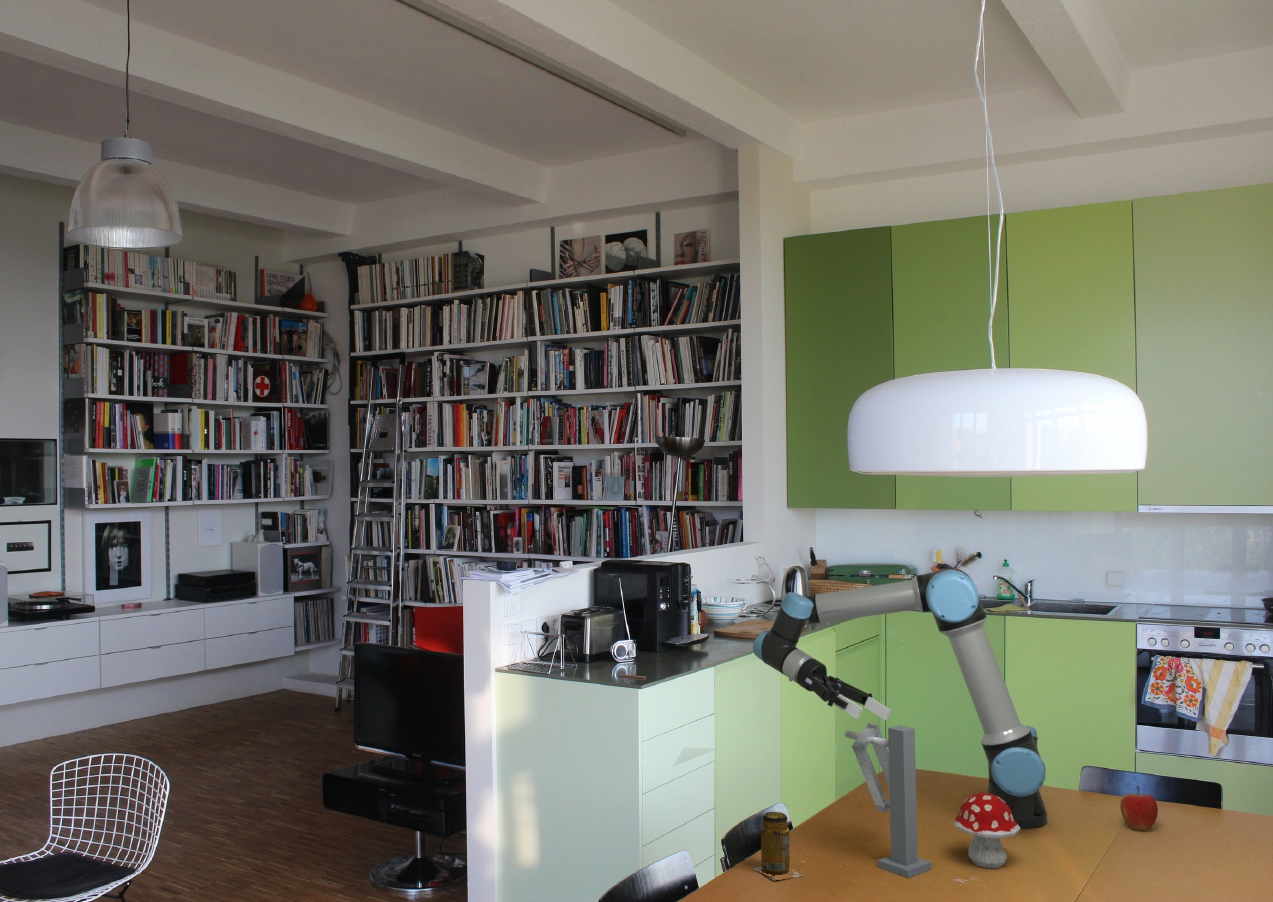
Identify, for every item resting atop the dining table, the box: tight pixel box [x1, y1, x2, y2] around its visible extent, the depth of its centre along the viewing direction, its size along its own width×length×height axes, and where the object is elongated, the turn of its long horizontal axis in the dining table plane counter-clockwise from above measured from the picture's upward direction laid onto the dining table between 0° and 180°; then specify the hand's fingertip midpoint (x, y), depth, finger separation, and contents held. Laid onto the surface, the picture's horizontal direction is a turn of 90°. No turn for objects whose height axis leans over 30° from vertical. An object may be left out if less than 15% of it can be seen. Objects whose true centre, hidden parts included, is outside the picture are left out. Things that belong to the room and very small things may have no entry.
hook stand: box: [844, 725, 932, 879], centre depth 219 cm, size 20×8×30 cm, turn 38°
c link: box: [851, 722, 890, 813], centre depth 222 cm, size 8×2×18 cm, turn 136°
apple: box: [1119, 785, 1159, 832], centre depth 237 cm, size 8×8×10 cm
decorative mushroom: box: [953, 792, 1021, 869], centre depth 216 cm, size 14×14×15 cm
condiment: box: [752, 811, 803, 882], centre depth 212 cm, size 7×8×12 cm
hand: (874, 714), depth 229 cm, fingers open, 13 cm apart
